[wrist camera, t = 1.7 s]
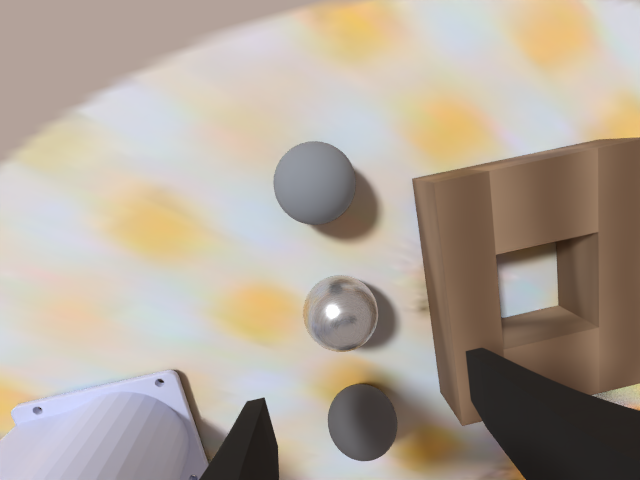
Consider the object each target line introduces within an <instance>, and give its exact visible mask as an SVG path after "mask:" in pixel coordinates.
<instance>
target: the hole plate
mask: <svg viewBox="0 0 640 480" xmlns="http://www.w3.org/2000/svg"><path fill="white" fill-rule="evenodd" d="M412 181H413V188H414V196H415V203H416V211H417V218H418V226H419V233H420V241H421V248H422V256H423V264H424V271H425V279H426V286H427V294H428V301H429V309H430V316H431V324H432V331H433V339H434V346H435V354H436V362H437V369H438V377H439V384H440V392H441V394H442V395H443V397H444V398H445V400H446V401H447V403H448V404H449V406H450V407H451V409H452V411H453V412H454V414H455V415H456V417H457V418H458V420H459V421H460V423H461V424H462V426H464V425H469V424H473V423H477V422H481V421H482V419H481V417H480V416H479V414H478V412H477V410H476V409H475V407H474V405H473V403H472V402H471V398H470V388H469V379H468V370H467V361H466V352H465V351H469V350H473V349H477V348H485V349H487V350H489V351H491V352H494V353H496V354H498V355H500V356H502V357H504V358H506V359H508V360H510V361H512V362H514V363H516V364H518V365H520V366H522V367H524V368H527V369H529V370H531V371H533V372H535V373H537V374H540V375H542V376H544V377H546V378H549V379H551V380H553V381H555V382H558V383H560V384H563V385H565V386H568V387H570V388H572V389H575V390H577V391H580V392H583V393H585V394H588V395H593V394H597V393H602V392H606V391H610V390H614V389H618V388H622V387H626V386H631V385H635V384H639V383H640V137H639V138H620V139H602V140H595V141H590V142H585V143H581V144H576V145H571V146H566V147H562V148H557V149H552V150H547V151H542V152H538V153H533V154H528V155H523V156H519V157H514V158H509V159H504V160H500V161H495V162H490V163H485V164H481V165H476V166H471V167H466V168H461V169H457V170H452V171H447V172H442V173H438V174H433V175H428V176H423V177H419V178H414V179H412ZM555 241H556V243H557V271H558V299H559V306H554V307H550V308H545V309H541V310H537V311H532V312H528V313H524V314H519V315H515V316H510V317H506V318H502V319H501V313H500V300H499V287H498V275H497V262H496V255H497V254H501V253H506V252H510V251H515V250H519V249H524V248H528V247H533V246H537V245H542V244H546V243H551V242H555Z"/></svg>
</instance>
